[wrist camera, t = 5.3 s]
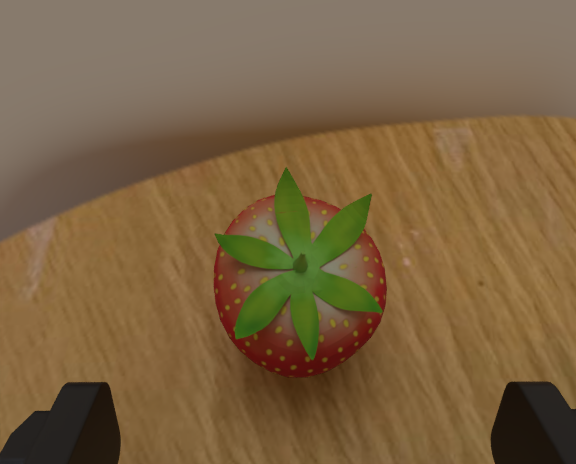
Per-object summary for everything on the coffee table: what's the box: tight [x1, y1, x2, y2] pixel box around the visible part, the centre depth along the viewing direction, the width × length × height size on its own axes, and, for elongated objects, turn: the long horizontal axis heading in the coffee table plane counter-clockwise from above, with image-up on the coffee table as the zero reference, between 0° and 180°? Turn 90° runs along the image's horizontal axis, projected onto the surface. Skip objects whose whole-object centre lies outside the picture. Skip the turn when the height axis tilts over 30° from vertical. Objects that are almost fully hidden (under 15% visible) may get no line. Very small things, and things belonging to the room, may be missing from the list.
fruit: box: [214, 167, 387, 377], centre depth 15 cm, size 5×5×8 cm
